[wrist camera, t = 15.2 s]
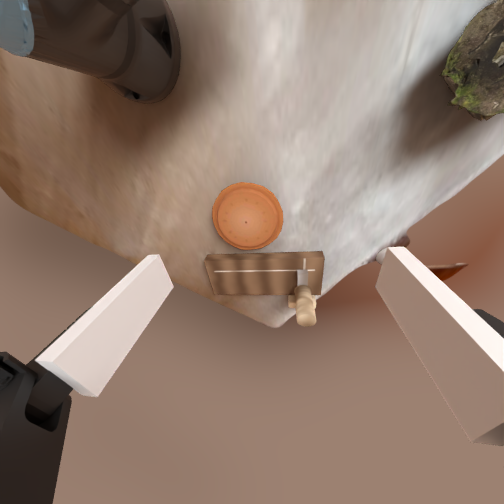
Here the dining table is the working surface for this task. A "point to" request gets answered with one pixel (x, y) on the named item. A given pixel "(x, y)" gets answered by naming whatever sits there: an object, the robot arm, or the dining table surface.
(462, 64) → the hollow geode rock
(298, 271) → the wooden handled tool
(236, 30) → the dining table surface
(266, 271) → the board
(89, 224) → the dining table surface
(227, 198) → the pie
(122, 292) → the robot arm
